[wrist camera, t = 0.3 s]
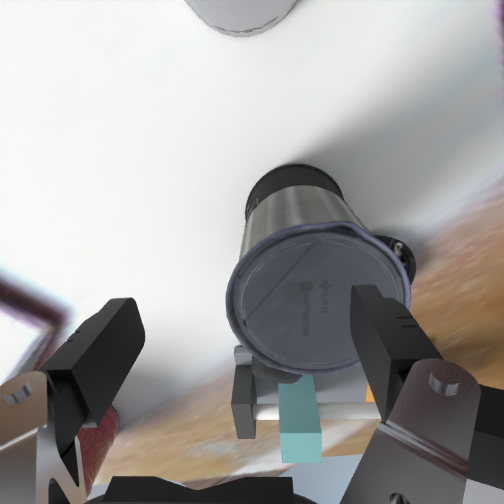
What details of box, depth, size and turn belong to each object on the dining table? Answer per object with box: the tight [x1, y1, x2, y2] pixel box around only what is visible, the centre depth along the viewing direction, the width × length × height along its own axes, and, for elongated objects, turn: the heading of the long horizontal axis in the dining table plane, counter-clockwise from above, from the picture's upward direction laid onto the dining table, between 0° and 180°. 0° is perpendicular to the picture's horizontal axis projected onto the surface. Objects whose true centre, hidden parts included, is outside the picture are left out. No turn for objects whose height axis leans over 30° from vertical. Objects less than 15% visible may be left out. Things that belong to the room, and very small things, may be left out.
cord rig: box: [231, 347, 381, 439], centre depth 34 cm, size 10×22×8 cm, turn 96°
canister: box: [76, 405, 119, 497], centre depth 36 cm, size 13×13×18 cm
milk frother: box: [226, 164, 416, 384], centre depth 22 cm, size 14×16×15 cm
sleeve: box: [278, 375, 322, 463], centre depth 33 cm, size 5×4×7 cm
